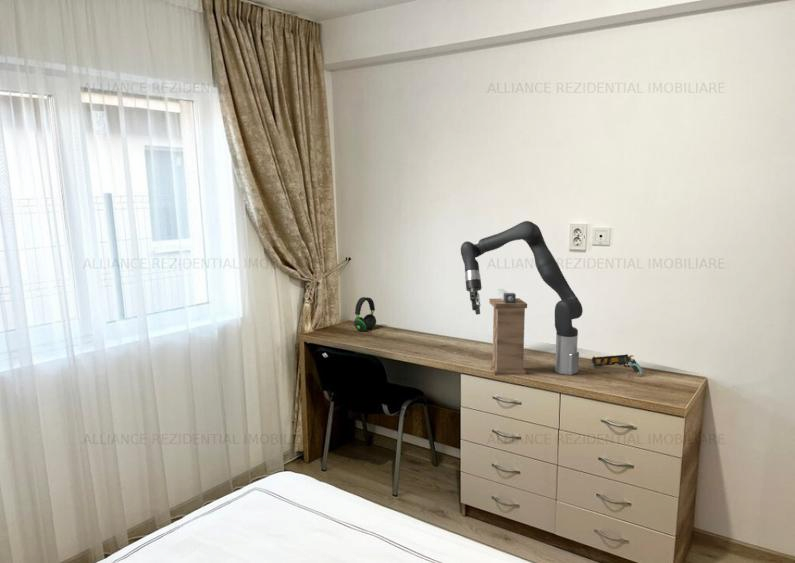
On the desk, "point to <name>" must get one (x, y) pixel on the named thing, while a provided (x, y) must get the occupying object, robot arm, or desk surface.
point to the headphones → (369, 319)
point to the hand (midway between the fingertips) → (476, 312)
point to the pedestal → (508, 337)
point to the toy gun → (618, 362)
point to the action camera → (506, 296)
